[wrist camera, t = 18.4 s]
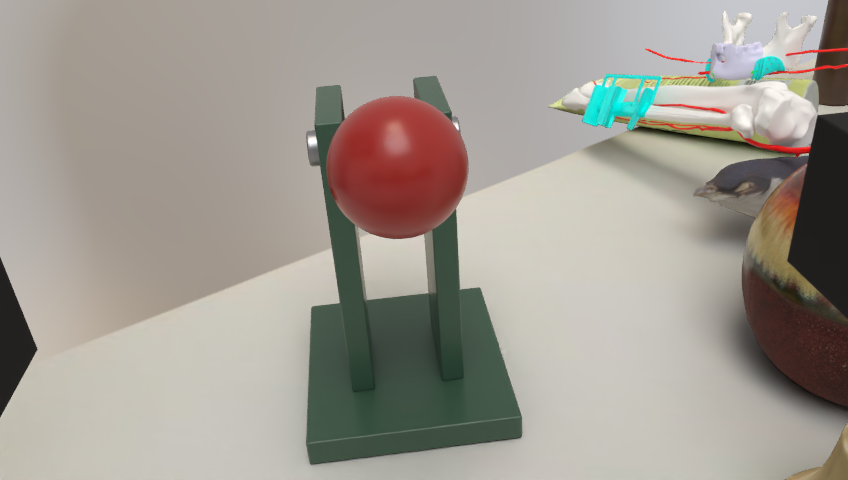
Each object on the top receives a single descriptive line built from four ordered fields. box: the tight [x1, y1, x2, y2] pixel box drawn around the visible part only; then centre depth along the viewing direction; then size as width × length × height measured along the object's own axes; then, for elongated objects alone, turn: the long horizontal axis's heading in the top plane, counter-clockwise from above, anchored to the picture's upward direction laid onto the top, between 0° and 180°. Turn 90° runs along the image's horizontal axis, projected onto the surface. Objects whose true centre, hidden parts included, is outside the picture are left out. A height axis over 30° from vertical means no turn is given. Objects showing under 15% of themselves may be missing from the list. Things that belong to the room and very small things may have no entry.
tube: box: [548, 76, 819, 145], centre depth 59 cm, size 6×5×20 cm
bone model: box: [562, 11, 848, 158], centre depth 51 cm, size 25×19×10 cm
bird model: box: [693, 156, 809, 217], centre depth 43 cm, size 4×17×5 cm, turn 91°
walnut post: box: [812, 0, 848, 106], centre depth 61 cm, size 3×3×10 cm
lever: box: [326, 96, 468, 239], centre depth 24 cm, size 14×4×4 cm, turn 6°
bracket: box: [306, 76, 522, 464], centre depth 32 cm, size 10×9×14 cm
